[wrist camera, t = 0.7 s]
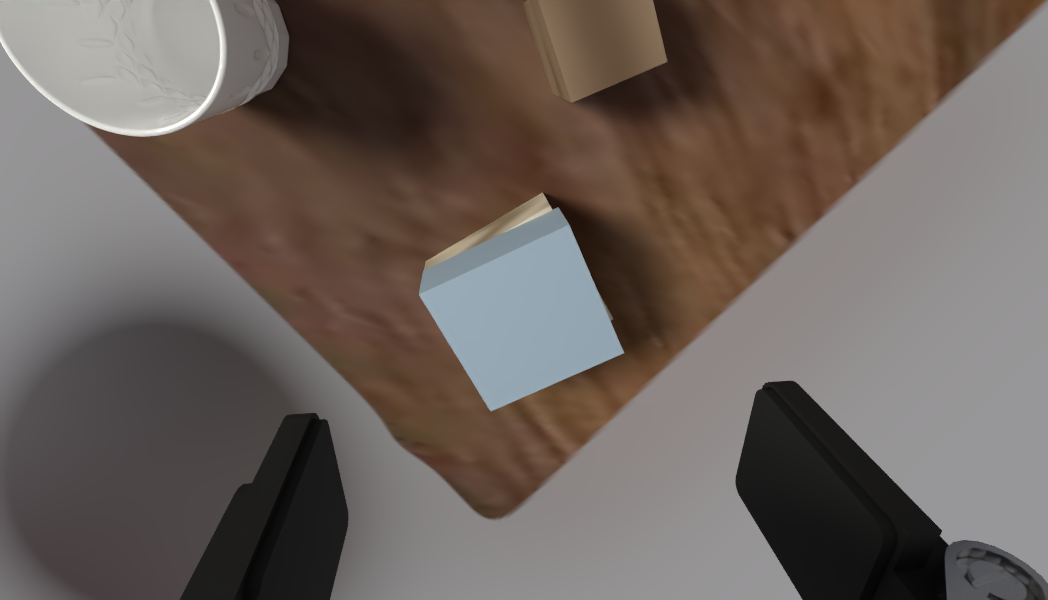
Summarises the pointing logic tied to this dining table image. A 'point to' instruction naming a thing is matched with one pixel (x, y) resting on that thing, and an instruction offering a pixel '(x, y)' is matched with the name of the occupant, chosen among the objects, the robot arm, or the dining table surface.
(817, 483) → the robot arm
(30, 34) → the white cup
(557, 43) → the walnut block
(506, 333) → the tower top block
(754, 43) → the dining table surface
